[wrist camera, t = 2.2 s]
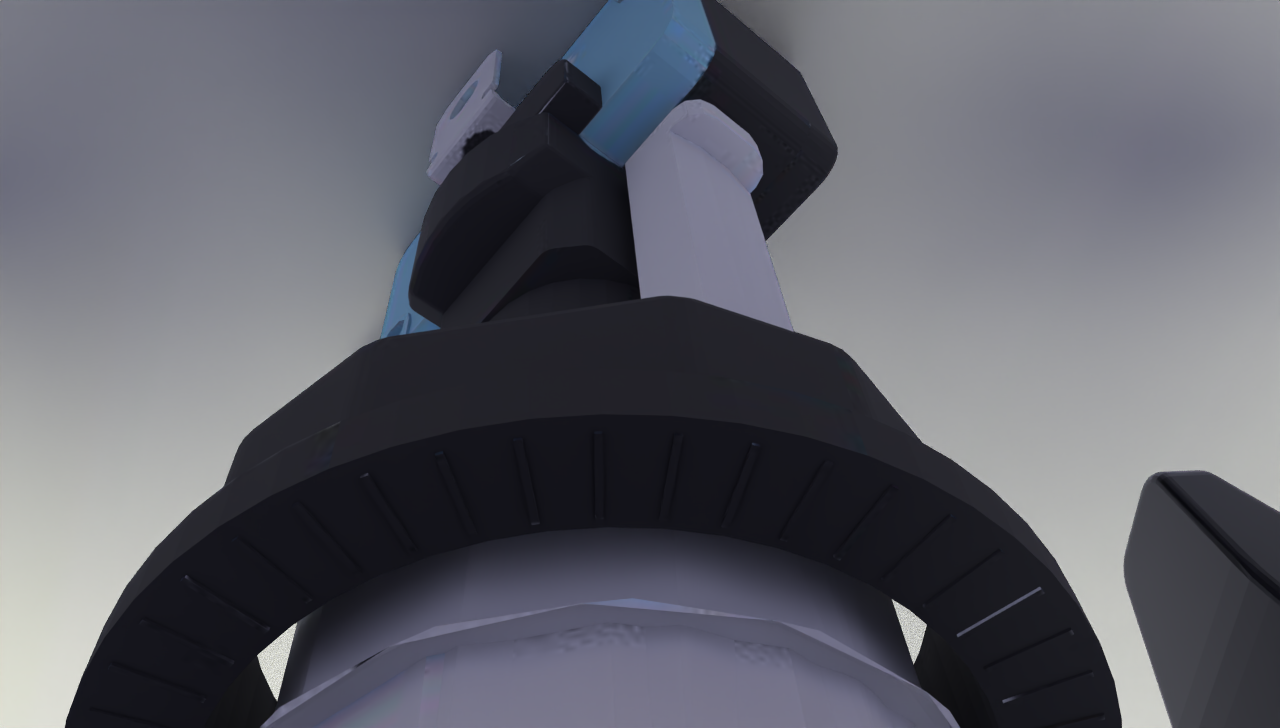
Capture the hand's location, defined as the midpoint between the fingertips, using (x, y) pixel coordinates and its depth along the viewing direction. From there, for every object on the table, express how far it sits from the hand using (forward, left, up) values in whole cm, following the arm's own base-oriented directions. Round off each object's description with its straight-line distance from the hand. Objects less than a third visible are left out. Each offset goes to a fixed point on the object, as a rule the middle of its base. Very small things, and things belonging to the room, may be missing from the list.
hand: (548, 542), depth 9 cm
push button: (0, 0, -6) cm, 6 cm away
